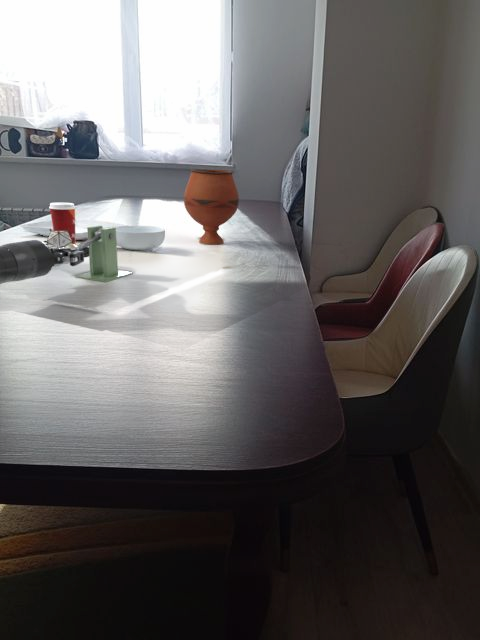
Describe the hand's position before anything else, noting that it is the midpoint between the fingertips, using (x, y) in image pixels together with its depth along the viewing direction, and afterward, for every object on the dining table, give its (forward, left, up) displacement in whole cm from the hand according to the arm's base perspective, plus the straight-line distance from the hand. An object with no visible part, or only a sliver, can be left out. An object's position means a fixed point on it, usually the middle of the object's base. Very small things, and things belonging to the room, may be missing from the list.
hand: (80, 250), depth 119 cm
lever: (+1, +2, 0) cm, 3 cm away
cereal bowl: (+9, +46, -9) cm, 47 cm away
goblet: (+33, +65, -9) cm, 73 cm away
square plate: (-15, +73, -9) cm, 75 cm away
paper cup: (-13, +44, -9) cm, 47 cm away
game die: (-12, +33, -9) cm, 36 cm away
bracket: (+4, +7, -8) cm, 12 cm away
